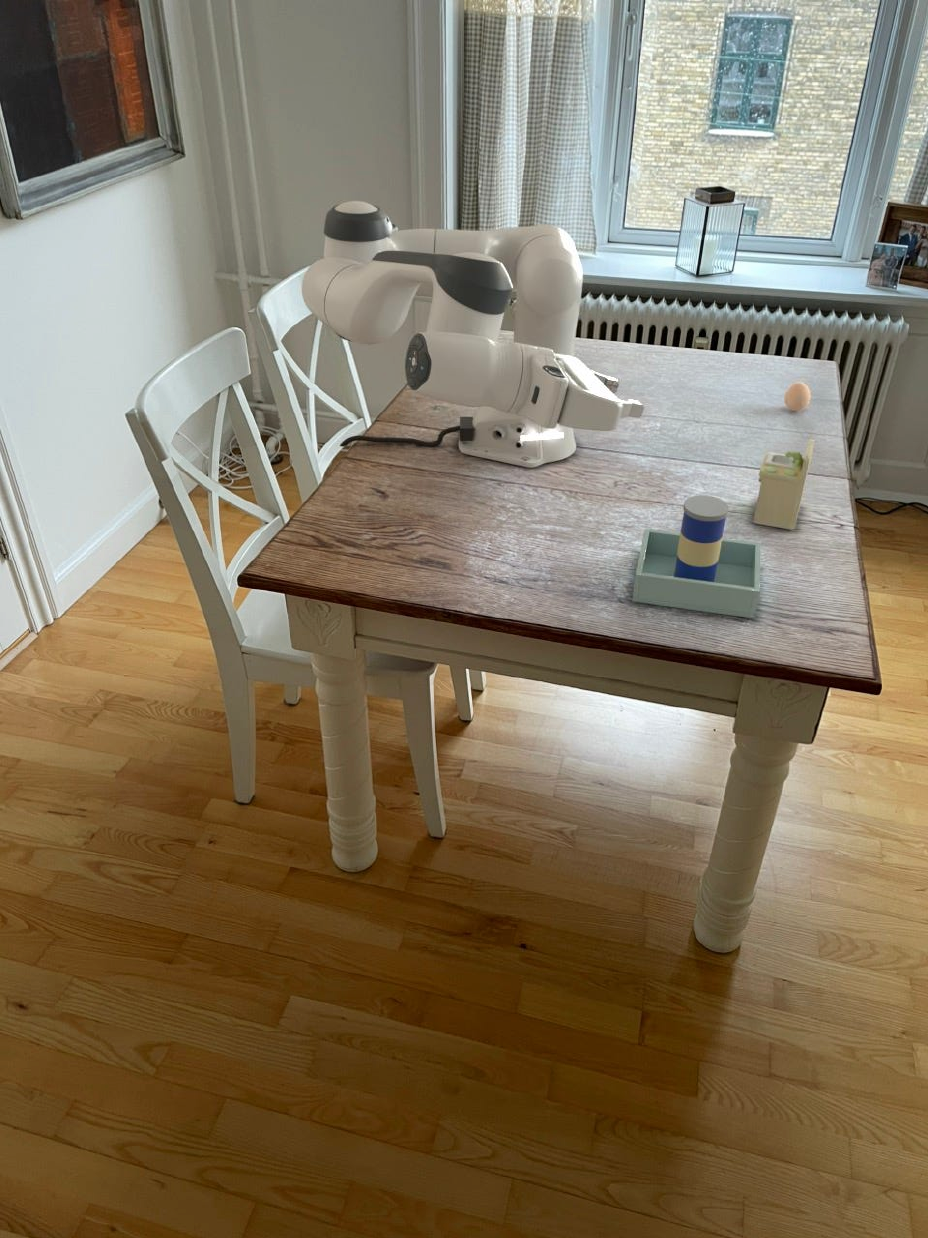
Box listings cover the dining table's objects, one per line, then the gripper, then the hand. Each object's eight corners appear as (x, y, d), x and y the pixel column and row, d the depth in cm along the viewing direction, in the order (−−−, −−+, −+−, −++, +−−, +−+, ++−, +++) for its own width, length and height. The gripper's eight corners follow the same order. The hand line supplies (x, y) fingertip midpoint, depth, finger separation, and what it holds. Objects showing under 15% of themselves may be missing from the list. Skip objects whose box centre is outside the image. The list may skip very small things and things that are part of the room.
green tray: (632, 601, 143) (635, 574, 140) (641, 554, 154) (644, 528, 151) (754, 618, 140) (760, 591, 137) (755, 569, 150) (760, 543, 147)
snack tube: (670, 589, 144) (682, 513, 137) (674, 567, 149) (685, 492, 142) (713, 595, 143) (727, 519, 135) (715, 572, 148) (729, 498, 140)
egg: (782, 403, 202) (787, 376, 198) (807, 406, 200) (813, 379, 197) (781, 413, 198) (787, 386, 194) (807, 416, 197) (813, 389, 193)
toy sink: (756, 500, 168) (770, 430, 160) (799, 507, 166) (816, 437, 158) (749, 523, 162) (763, 451, 154) (794, 531, 160) (810, 459, 152)
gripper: (506, 378, 135) (596, 394, 139) (546, 432, 118) (648, 448, 122) (517, 334, 132) (609, 351, 136) (560, 383, 115) (664, 400, 119)
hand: (628, 397), depth 129 cm, fingers open, 8 cm apart
